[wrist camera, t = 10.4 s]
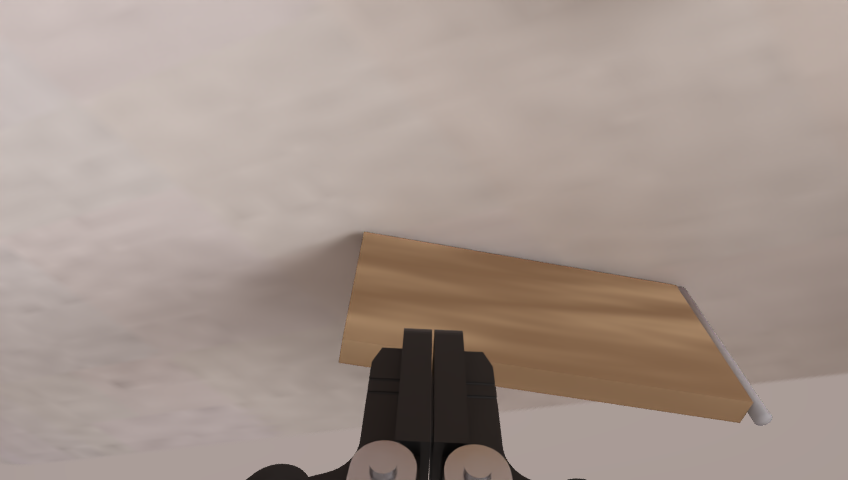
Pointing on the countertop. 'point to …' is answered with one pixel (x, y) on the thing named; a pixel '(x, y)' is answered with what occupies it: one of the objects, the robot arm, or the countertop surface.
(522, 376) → the door
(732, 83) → the countertop surface
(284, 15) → the countertop surface
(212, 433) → the countertop surface
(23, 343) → the countertop surface
